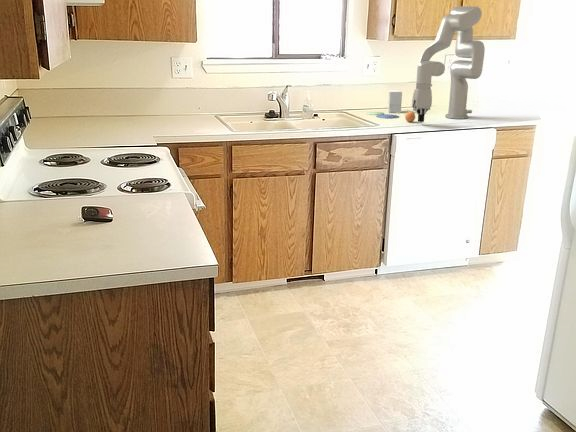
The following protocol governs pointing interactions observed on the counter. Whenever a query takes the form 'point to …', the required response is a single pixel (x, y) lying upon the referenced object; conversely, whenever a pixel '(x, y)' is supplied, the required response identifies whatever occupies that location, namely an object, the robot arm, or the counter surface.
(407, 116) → the ball
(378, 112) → the green far disc
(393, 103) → the supplement box
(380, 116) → the navy disc
